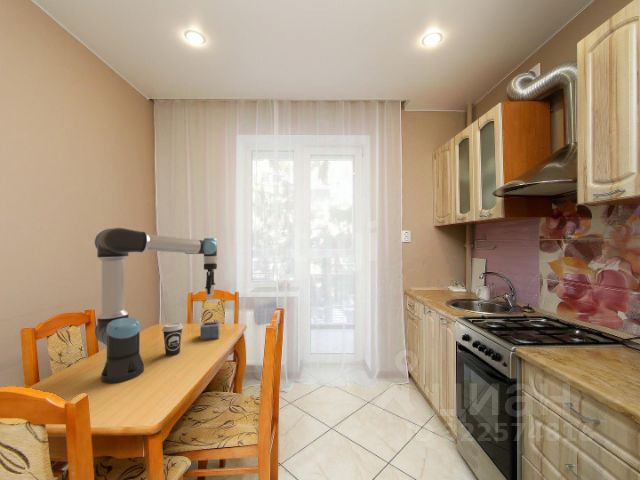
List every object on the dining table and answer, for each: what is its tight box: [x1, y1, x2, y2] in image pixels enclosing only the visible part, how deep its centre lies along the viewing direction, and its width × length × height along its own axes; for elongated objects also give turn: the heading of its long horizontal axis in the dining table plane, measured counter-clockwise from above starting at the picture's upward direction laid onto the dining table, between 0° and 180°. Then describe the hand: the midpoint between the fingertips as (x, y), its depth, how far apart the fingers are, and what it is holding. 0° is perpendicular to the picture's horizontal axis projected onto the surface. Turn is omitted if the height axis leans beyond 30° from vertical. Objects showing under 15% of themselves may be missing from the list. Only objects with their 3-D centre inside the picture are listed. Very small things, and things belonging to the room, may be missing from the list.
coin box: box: [199, 320, 221, 341], centre depth 163 cm, size 10×10×8 cm
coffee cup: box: [161, 321, 184, 357], centre depth 139 cm, size 10×10×15 cm
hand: (210, 297), depth 163 cm, fingers open, 13 cm apart
